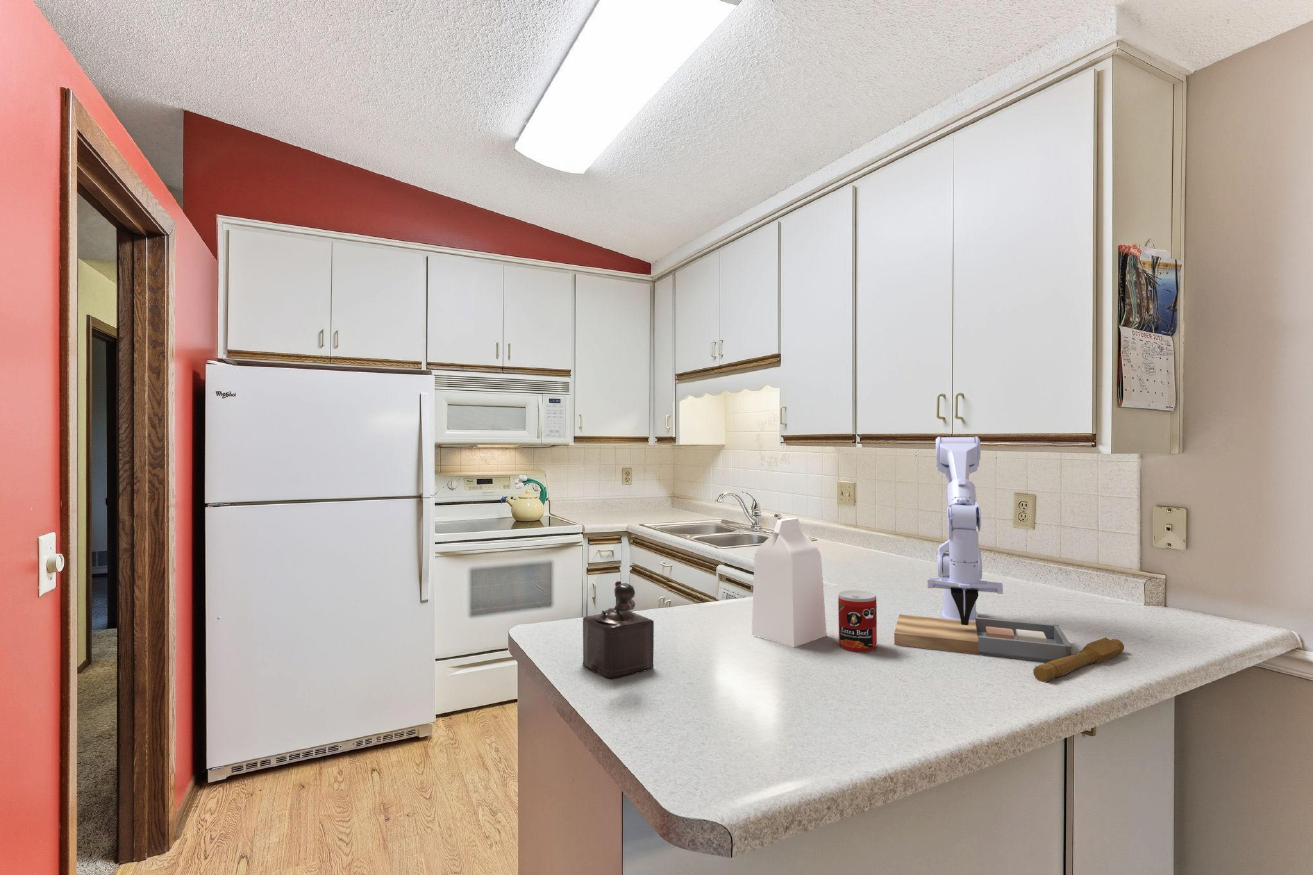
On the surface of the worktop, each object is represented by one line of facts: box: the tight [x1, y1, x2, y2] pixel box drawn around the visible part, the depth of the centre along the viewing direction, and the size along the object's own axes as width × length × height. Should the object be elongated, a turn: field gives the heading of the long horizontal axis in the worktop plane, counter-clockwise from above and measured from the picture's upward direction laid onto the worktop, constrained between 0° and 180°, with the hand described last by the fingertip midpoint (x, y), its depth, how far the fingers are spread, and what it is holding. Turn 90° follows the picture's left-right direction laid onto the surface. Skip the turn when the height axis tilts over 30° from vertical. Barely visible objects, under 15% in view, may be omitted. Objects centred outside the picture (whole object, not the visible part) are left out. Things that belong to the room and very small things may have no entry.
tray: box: [975, 616, 1073, 663], centre depth 134 cm, size 16×16×4 cm
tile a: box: [986, 627, 1015, 639], centre depth 135 cm, size 5×5×2 cm
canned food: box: [837, 589, 878, 653], centre depth 136 cm, size 8×8×11 cm
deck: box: [893, 614, 979, 655], centre depth 140 cm, size 16×16×2 cm
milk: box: [751, 517, 828, 648], centre depth 144 cm, size 12×12×26 cm
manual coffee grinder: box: [582, 580, 655, 679], centre depth 123 cm, size 16×11×18 cm
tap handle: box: [1032, 636, 1125, 683], centre depth 123 cm, size 3×3×30 cm
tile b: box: [1016, 629, 1047, 643], centre depth 133 cm, size 5×5×2 cm
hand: (964, 623), depth 138 cm, fingers closed
